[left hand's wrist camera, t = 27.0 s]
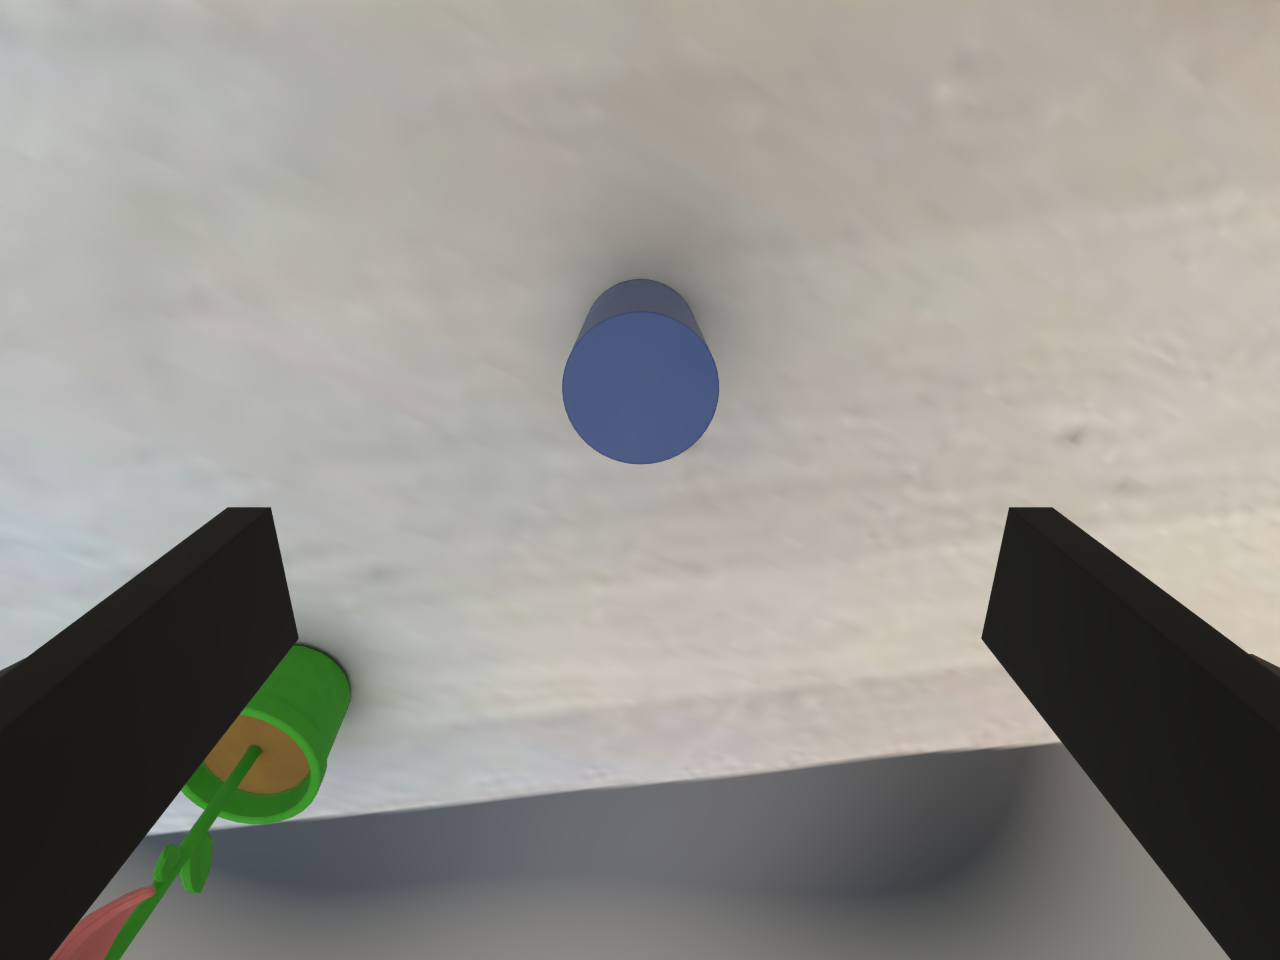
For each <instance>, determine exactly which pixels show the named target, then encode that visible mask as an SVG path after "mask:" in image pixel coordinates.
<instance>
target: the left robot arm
mask: <svg viewBox="0 0 1280 960" xmlns="http://www.w3.org/2000/svg"><path fill="white" fill-rule="evenodd" d="M298 639H299V638H298V633H297V628H296V624H295V619H294V614H293V610H292V605H291V600H290V596H289V591H288V586H287V581H286V577H285V572H284V567H283V563H282V558H281V553H280V548H279V544H278V539H277V534H276V530H275V525H274V520H273V516H272V511H271V507H228V508H226V509H225V510H224V511H222V512H221V513H220V514H218V515H217V516H216V517H214V518H213V519H212V520H210V521H209V522H208V523H206V524H205V525H204V526H202V527H201V528H199V529H198V530H197V531H195V532H194V533H193V534H191V535H190V536H189V537H187V538H186V539H185V540H183V541H182V542H181V543H179V544H178V545H177V546H175V547H174V548H173V549H171V550H170V551H169V552H167V553H166V554H165V555H163V556H162V557H161V558H159V559H158V560H157V561H155V562H154V563H153V564H151V565H150V566H149V567H147V568H146V569H145V570H143V571H142V572H141V573H139V574H138V575H137V576H135V577H134V578H133V579H131V580H130V581H129V582H127V583H126V584H125V585H123V586H122V587H121V588H119V589H118V590H116V591H115V592H114V593H112V594H111V595H110V596H108V597H107V598H106V599H104V600H103V601H102V602H100V603H99V604H98V605H96V606H95V607H94V608H92V609H91V610H90V611H88V612H87V613H86V614H84V615H83V616H82V617H80V618H79V619H78V620H76V621H75V622H74V623H72V624H71V625H70V626H68V627H67V628H66V629H64V630H63V631H62V632H60V633H59V634H58V635H56V636H55V637H54V638H52V639H51V640H50V641H48V642H47V643H46V644H44V645H43V646H42V647H40V648H39V649H38V650H36V651H35V652H34V653H32V654H31V655H29V656H28V657H27V658H25V659H23V660H21V661H19V662H17V663H15V664H13V665H11V666H9V667H7V668H5V669H3V670H1V671H0V960H49V959H50V958H51V957H52V955H53V954H54V953H55V951H56V950H57V949H58V948H59V946H60V945H61V944H62V942H63V941H64V940H65V939H66V937H67V936H68V935H69V933H70V932H71V931H72V930H73V928H74V927H75V926H76V924H77V923H78V922H79V921H80V919H81V918H82V917H83V915H84V914H85V913H86V912H87V910H88V909H89V908H90V906H91V905H92V904H93V903H94V901H95V900H96V899H97V897H98V896H99V895H100V894H101V892H102V891H103V890H104V888H105V887H106V886H107V884H108V883H109V882H110V881H111V879H112V878H113V877H114V875H115V874H116V873H117V872H118V870H119V869H120V868H121V866H122V865H123V864H124V863H125V861H126V860H127V859H128V857H129V856H130V855H131V854H132V852H133V851H134V850H135V848H136V847H137V846H138V845H139V843H140V842H141V841H142V839H143V838H144V837H145V836H146V834H147V833H148V832H149V830H150V829H151V828H152V827H153V825H154V824H155V823H156V821H157V820H158V819H159V818H160V816H161V815H162V814H163V812H164V811H165V810H166V809H167V807H168V806H169V805H170V803H171V802H172V801H173V800H174V798H175V797H176V796H177V794H178V793H179V792H180V791H181V789H182V788H183V787H184V785H185V784H186V783H187V782H188V780H189V779H190V778H191V776H192V775H193V774H194V773H195V771H196V770H197V769H198V767H199V766H200V765H201V764H202V762H203V761H204V760H205V758H206V757H207V756H208V755H209V753H210V752H211V751H212V749H213V748H214V747H215V746H216V744H217V743H218V742H219V740H220V739H221V738H222V737H223V735H224V734H225V733H226V731H227V730H228V729H229V728H230V726H231V725H232V724H233V722H234V721H235V720H236V719H237V717H238V716H239V715H240V713H241V712H242V711H243V710H244V708H245V707H246V706H247V704H248V703H249V702H250V701H251V699H252V698H253V697H254V695H255V694H256V693H257V692H258V690H259V689H260V688H261V686H262V685H263V684H264V683H265V681H266V680H267V679H268V677H269V676H270V675H271V674H272V672H273V671H274V670H275V668H276V667H277V666H278V664H279V663H280V662H281V661H282V659H283V658H284V657H285V655H286V654H287V653H288V652H289V650H290V649H291V648H292V646H293V645H294V644H295V643H296V641H297V640H298ZM981 639H982V640H983V641H984V643H985V644H986V645H987V646H988V648H989V649H990V650H991V652H992V653H993V654H994V655H995V657H996V658H997V659H998V661H999V662H1000V663H1001V665H1002V666H1003V667H1004V668H1005V670H1006V671H1007V672H1008V674H1009V675H1010V676H1011V677H1012V679H1013V680H1014V681H1015V683H1016V684H1017V685H1018V686H1019V688H1020V689H1021V690H1022V692H1023V693H1024V694H1025V695H1026V697H1027V698H1028V699H1029V701H1030V702H1031V703H1032V704H1033V706H1034V707H1035V708H1036V710H1037V711H1038V712H1039V713H1040V715H1041V716H1042V717H1043V719H1044V720H1045V721H1046V722H1047V724H1048V725H1049V726H1050V728H1051V729H1052V730H1053V731H1054V733H1055V734H1056V735H1057V737H1058V738H1059V739H1060V740H1061V742H1062V743H1063V744H1064V746H1065V747H1066V748H1067V749H1068V751H1069V752H1070V753H1071V754H1072V756H1073V757H1074V758H1075V760H1076V761H1077V762H1078V764H1079V765H1080V766H1081V767H1082V769H1083V770H1084V771H1085V772H1086V774H1087V775H1088V776H1089V778H1090V779H1091V780H1092V782H1093V783H1094V784H1095V785H1096V787H1097V788H1098V789H1099V791H1100V792H1101V793H1102V794H1103V796H1104V797H1105V798H1106V800H1107V801H1108V802H1109V803H1110V805H1111V806H1112V807H1113V809H1114V810H1115V811H1116V812H1117V814H1118V815H1119V816H1120V818H1121V819H1122V820H1123V821H1124V823H1125V824H1126V825H1127V827H1128V828H1129V829H1130V830H1131V832H1132V833H1133V834H1134V836H1135V837H1136V838H1137V839H1138V841H1139V842H1140V843H1141V845H1142V846H1143V847H1144V848H1145V850H1146V851H1147V852H1148V854H1149V855H1150V856H1151V857H1152V859H1153V860H1154V861H1155V863H1156V864H1157V865H1158V866H1159V868H1160V869H1161V870H1162V872H1163V873H1164V874H1165V875H1166V877H1167V878H1168V879H1169V881H1170V882H1171V883H1172V884H1173V886H1174V887H1175V888H1176V890H1177V891H1178V892H1179V893H1180V895H1181V896H1182V897H1183V899H1184V900H1185V901H1186V903H1187V904H1188V905H1189V906H1190V908H1191V909H1192V910H1193V911H1194V913H1195V914H1196V915H1197V917H1198V918H1199V919H1200V921H1201V922H1202V923H1203V924H1204V926H1205V927H1206V928H1207V929H1208V931H1209V932H1210V933H1211V935H1212V936H1213V937H1214V939H1215V940H1216V941H1217V942H1218V944H1219V945H1220V946H1221V947H1222V949H1223V950H1224V951H1225V953H1226V954H1227V955H1228V957H1229V958H1230V959H1231V960H1280V668H1279V667H1277V666H1275V665H1273V664H1271V663H1269V662H1267V661H1265V660H1263V659H1261V658H1259V657H1257V656H1255V655H1253V654H1248V653H1246V652H1245V651H1244V650H1242V649H1241V648H1240V647H1238V646H1237V645H1236V644H1234V643H1233V642H1232V641H1230V640H1229V639H1228V638H1226V637H1225V636H1224V635H1222V634H1221V633H1220V632H1218V631H1217V630H1216V629H1214V628H1213V627H1212V626H1210V625H1209V624H1208V623H1206V622H1205V621H1204V620H1202V619H1201V618H1200V617H1198V616H1197V615H1196V614H1194V613H1193V612H1192V611H1190V610H1189V609H1188V608H1186V607H1185V606H1184V605H1182V604H1181V603H1180V602H1178V601H1177V600H1176V599H1174V598H1173V597H1172V596H1170V595H1169V594H1168V593H1166V592H1165V591H1163V590H1162V589H1161V588H1159V587H1158V586H1157V585H1155V584H1154V583H1153V582H1151V581H1150V580H1149V579H1147V578H1146V577H1145V576H1143V575H1142V574H1141V573H1139V572H1138V571H1137V570H1135V569H1134V568H1133V567H1131V566H1130V565H1129V564H1127V563H1126V562H1125V561H1123V560H1122V559H1121V558H1119V557H1118V556H1117V555H1115V554H1114V553H1113V552H1111V551H1110V550H1109V549H1107V548H1106V547H1105V546H1103V545H1102V544H1101V543H1099V542H1098V541H1097V540H1095V539H1094V538H1093V537H1091V536H1090V535H1089V534H1087V533H1086V532H1085V531H1083V530H1082V529H1081V528H1079V527H1078V526H1076V525H1075V524H1074V523H1072V522H1071V521H1070V520H1068V519H1067V518H1066V517H1064V516H1063V515H1062V514H1060V513H1059V512H1058V511H1056V510H1055V509H1054V508H1052V507H1009V511H1008V516H1007V520H1006V525H1005V530H1004V534H1003V539H1002V544H1001V548H1000V553H999V558H998V563H997V567H996V572H995V577H994V581H993V586H992V591H991V596H990V600H989V605H988V610H987V614H986V619H985V624H984V628H983V633H982V638H981Z"/></svg>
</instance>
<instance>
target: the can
mask: <svg viewBox="0 0 1280 960" xmlns="http://www.w3.org/2000/svg"><path fill="white" fill-rule="evenodd" d="M562 392H563V401H564V405H565V409H566V412H567V415H568V417H569V420H570V422H571V423H572V425H573V427H574V429H575V430H576V431H577V433H578V434H579V436H580V437H581V438H582V439H583V440H584V441H585V442H586V443H587V444H588V445H589V446H591V447H592V448H593V449H594V450H596V451H598V452H599V453H601V454H602V455H604V456H607V457H609V458H611V459H614V460H617V461H620V462H625V463H630V464H651V463H657V462H661V461H664V460H668V459H670V458H673V457H675V456H677V455H679V454H681V453H682V452H684V451H685V450H687V449H688V448H689V447H691V446H692V445H693V444H694V443H695V442H696V441H697V440H698V439H699V438H700V437H701V436H702V435H703V433H704V432H705V431H706V429H707V428H708V426H709V424H710V422H711V420H712V418H713V416H714V413H715V410H716V407H717V403H718V396H719V379H718V373H717V369H716V365H715V362H714V360H713V357H712V355H711V353H710V351H709V349H708V346H707V344H706V342H705V340H704V338H703V335H702V333H701V331H700V329H699V327H698V325H697V322H696V320H695V318H694V316H693V314H692V312H691V309H690V308H689V306H688V304H687V303H686V302H685V300H684V299H683V298H682V297H681V296H680V295H679V294H678V293H677V292H676V291H674V290H673V289H671V288H670V287H668V286H666V285H664V284H662V283H659V282H656V281H652V280H645V279H636V280H629V281H625V282H622V283H619V284H617V285H615V286H613V287H611V288H610V289H608V290H607V291H605V292H604V293H603V294H602V295H601V296H600V297H599V298H598V299H597V300H596V302H595V303H594V305H593V306H592V308H591V309H590V312H589V314H588V316H587V318H586V320H585V323H584V325H583V327H582V329H581V331H580V334H579V336H578V338H577V340H576V343H575V345H574V347H573V349H572V351H571V354H570V356H569V358H568V360H567V363H566V367H565V370H564V375H563V384H562Z"/></svg>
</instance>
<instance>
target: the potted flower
mask: <svg viewBox="0 0 1280 960" xmlns="http://www.w3.org/2000/svg"><path fill="white" fill-rule="evenodd" d="M349 702H350V690H349V685H348V681H347V679H346V677H345V674H344V673H343V672H342V670H341V669H340V667H339V666H338V665H337V664H336V663H335V662H334V661H333V660H331V659H330V658H329V657H327V656H326V655H324V654H322V653H320V652H318V651H316V650H314V649H311V648H307V647H304V646H297V645H293V646H292V648H291V649H290V650H289V652H288V653H287V654H286V655H285V657H284V658H283V659H282V661H281V662H280V663H279V664H278V666H277V667H276V668H275V670H274V671H273V672H272V674H271V675H270V676H269V677H268V679H267V680H266V681H265V683H264V684H263V685H262V686H261V688H260V689H259V690H258V692H257V693H256V694H255V695H254V697H253V698H252V699H251V701H250V702H249V703H248V704H247V706H246V707H245V708H244V710H243V711H242V712H241V713H240V715H239V716H238V717H237V719H236V720H235V721H234V722H233V724H232V725H231V726H230V728H229V729H228V730H227V731H226V733H225V734H224V735H223V737H222V738H221V739H220V740H219V742H218V743H217V744H216V746H215V747H214V748H213V749H212V751H211V752H210V753H209V755H208V756H207V757H206V758H205V760H204V761H203V762H202V764H201V765H200V766H199V767H198V769H197V770H196V771H195V773H194V774H193V775H192V776H191V778H190V779H189V780H188V782H187V783H186V784H185V785H184V787H183V788H182V789H181V791H182V792H183V793H184V795H185V796H186V797H188V798H189V799H190V800H191V801H192V802H194V803H195V804H196V805H198V806H199V807H201V808H203V809H204V812H203V813H202V815H201V816H200V817H199V819H198V820H197V822H196V823H195V825H194V826H193V827H192V829H191V830H190V832H189V833H188V834H187V836H186V837H185V839H184V840H183V841H182V843H181V844H180V846H179V847H177V846H176V845H173V844H169V845H166V846H165V847H164V849H163V850H162V852H161V854H160V857H159V859H158V861H157V863H156V866H155V869H154V873H153V878H154V880H155V881H154V882H153V884H152V885H151V886H148V887H142V888H139V889H137V890H134V891H132V892H130V893H127V894H125V895H123V896H122V897H120V898H118V899H116V900H114V901H112V902H110V903H108V904H106V905H105V906H103V907H101V908H99V909H97V910H96V911H94V912H92V913H90V914H89V915H88V916H86V917H85V918H84V919H82V920H81V921H80V922H79V923H77V924H76V926H75V927H74V928H73V930H72V931H71V932H70V933H69V935H68V936H67V937H66V939H65V940H64V941H63V942H62V944H61V945H60V946H59V948H58V949H57V950H56V951H55V953H54V954H53V955H52V957H51V958H50V959H49V960H119V959H120V958H121V956H122V955H123V953H124V952H125V951H126V949H127V948H128V946H129V945H130V943H131V942H132V940H133V939H134V938H135V936H136V934H137V933H138V932H139V930H140V929H141V927H142V926H143V924H144V923H145V921H146V920H147V919H148V917H149V916H150V914H151V913H152V911H153V910H154V908H155V907H156V905H157V904H158V902H159V901H160V900H161V898H162V897H163V895H164V894H165V892H166V891H167V889H168V888H169V886H170V885H171V883H172V882H173V881H174V879H175V878H176V876H177V875H178V873H179V872H180V878H181V882H182V885H183V887H184V888H185V889H186V890H187V891H188V892H190V893H192V894H199V893H201V891H202V889H203V886H204V884H205V881H206V879H207V876H208V873H209V869H210V865H211V859H212V838H211V835H210V834H209V833H208V832H207V831H208V829H209V828H210V827H211V825H212V824H213V822H214V821H215V819H216V818H217V816H219V817H221V818H224V819H227V820H231V821H235V822H239V823H247V824H268V823H274V822H280V821H283V820H286V819H288V818H291V817H293V816H295V815H297V814H298V813H300V812H302V811H303V810H304V809H305V808H306V807H307V806H309V805H310V804H311V802H312V801H313V799H314V798H315V796H316V794H317V792H318V790H319V787H320V785H321V783H322V780H323V778H324V775H325V771H326V768H327V758H328V755H329V753H330V750H331V748H332V745H333V743H334V740H335V738H336V735H337V733H338V731H339V728H340V726H341V723H342V721H343V718H344V716H345V713H346V711H347V708H348V705H349Z"/></svg>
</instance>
